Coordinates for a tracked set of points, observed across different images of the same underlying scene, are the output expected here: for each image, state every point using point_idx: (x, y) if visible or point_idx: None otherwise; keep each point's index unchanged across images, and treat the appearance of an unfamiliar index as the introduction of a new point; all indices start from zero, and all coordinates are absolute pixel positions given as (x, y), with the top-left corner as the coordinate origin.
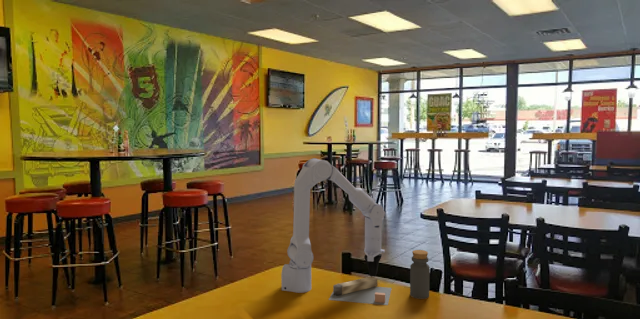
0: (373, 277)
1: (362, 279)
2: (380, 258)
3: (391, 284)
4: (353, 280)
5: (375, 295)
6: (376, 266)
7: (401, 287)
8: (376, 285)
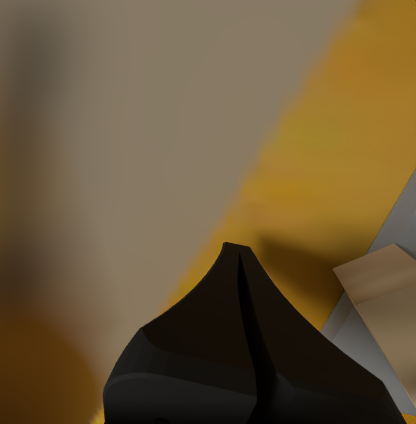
0: (390, 298)
1: (411, 361)
2: (383, 410)
3: (284, 127)
4: (413, 399)
5: None
6: (289, 310)
7: (362, 44)
8: (398, 251)
